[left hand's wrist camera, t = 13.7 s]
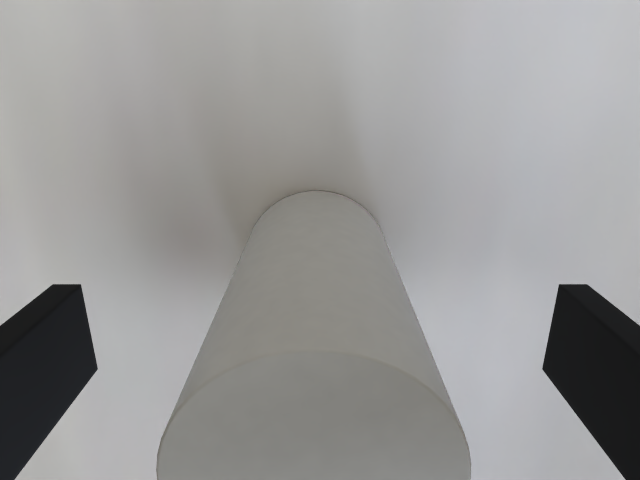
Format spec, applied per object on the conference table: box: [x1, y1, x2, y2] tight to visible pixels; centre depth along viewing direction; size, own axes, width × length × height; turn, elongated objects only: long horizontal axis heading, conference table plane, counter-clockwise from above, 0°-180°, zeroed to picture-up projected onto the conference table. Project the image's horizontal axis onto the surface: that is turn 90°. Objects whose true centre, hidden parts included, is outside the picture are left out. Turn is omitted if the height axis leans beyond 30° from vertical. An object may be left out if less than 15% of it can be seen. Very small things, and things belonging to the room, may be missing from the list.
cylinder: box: [156, 191, 471, 480], centre depth 13 cm, size 6×6×11 cm
